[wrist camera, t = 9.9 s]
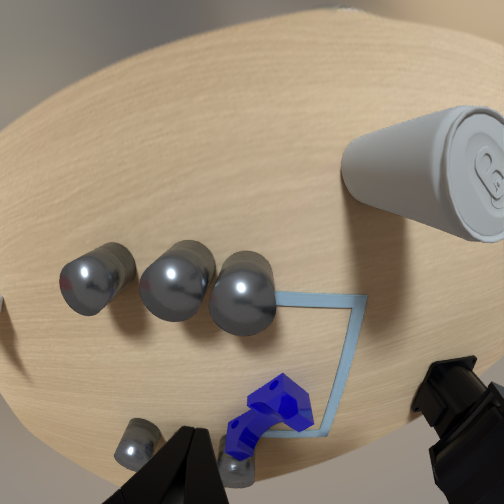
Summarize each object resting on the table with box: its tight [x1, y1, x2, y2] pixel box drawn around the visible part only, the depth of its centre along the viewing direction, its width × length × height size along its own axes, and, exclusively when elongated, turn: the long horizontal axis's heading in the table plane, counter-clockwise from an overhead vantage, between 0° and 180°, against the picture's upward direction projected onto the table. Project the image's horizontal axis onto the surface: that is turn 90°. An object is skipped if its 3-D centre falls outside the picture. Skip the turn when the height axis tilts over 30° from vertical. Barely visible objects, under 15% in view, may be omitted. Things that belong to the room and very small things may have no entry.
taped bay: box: [261, 291, 368, 438], centre depth 22 cm, size 8×16×1 cm, turn 177°
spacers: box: [59, 240, 276, 488], centre depth 20 cm, size 14×23×5 cm, turn 177°
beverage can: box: [341, 105, 504, 243], centre depth 12 cm, size 5×5×12 cm
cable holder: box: [225, 373, 314, 461], centre depth 22 cm, size 8×4×4 cm, turn 133°
